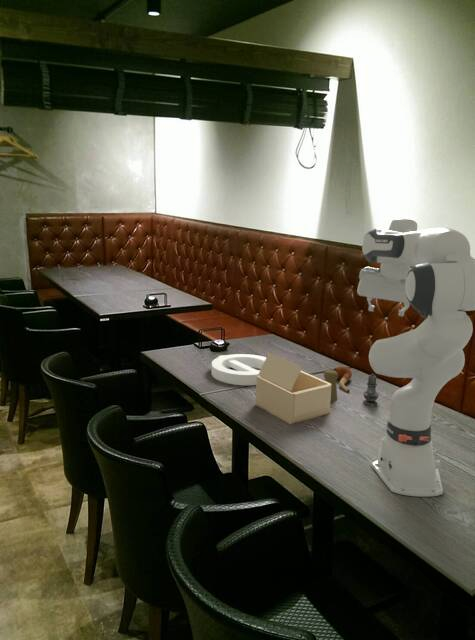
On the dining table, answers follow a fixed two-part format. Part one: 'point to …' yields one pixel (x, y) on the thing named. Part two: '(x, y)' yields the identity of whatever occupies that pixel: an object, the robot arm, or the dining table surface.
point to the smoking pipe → (343, 376)
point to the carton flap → (280, 371)
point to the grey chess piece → (371, 391)
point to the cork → (332, 382)
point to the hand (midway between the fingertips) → (385, 313)
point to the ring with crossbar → (237, 368)
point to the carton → (295, 398)
